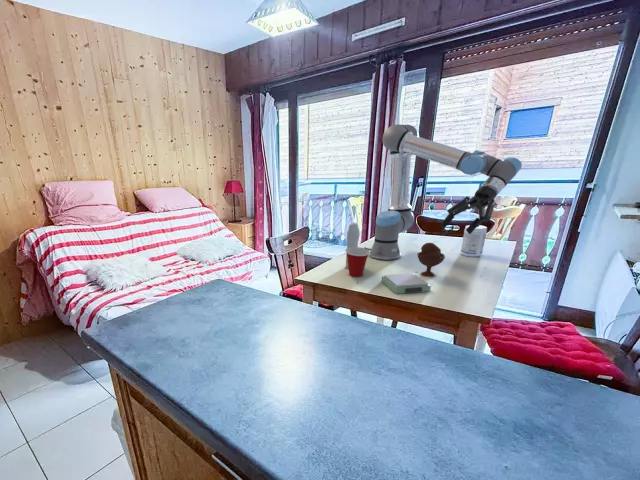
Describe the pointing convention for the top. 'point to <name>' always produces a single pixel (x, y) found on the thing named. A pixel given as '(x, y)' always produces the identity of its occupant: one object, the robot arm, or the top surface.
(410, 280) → the scale
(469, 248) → the supplement tub
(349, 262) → the plastic cup
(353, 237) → the tall pale column
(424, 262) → the ice cream bowl
